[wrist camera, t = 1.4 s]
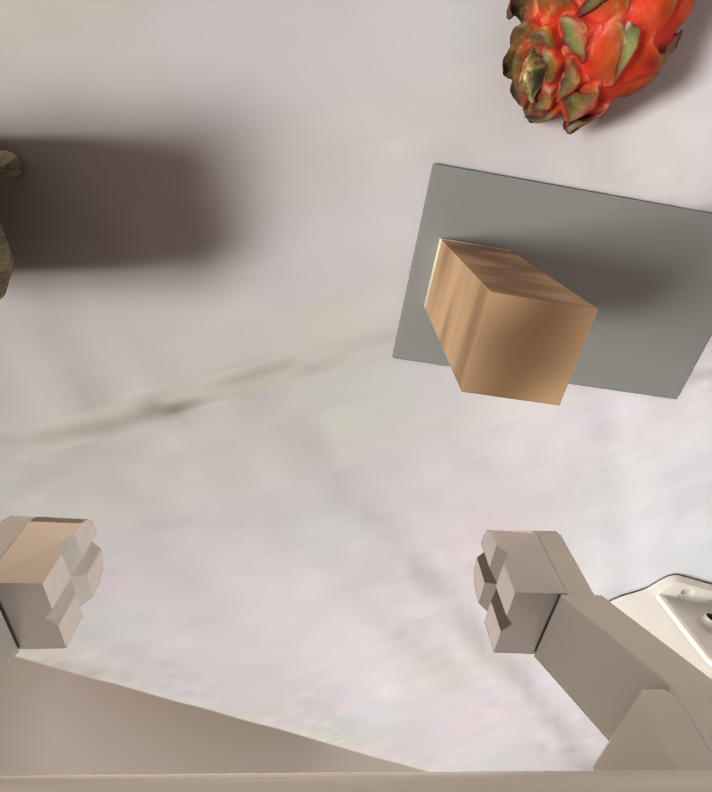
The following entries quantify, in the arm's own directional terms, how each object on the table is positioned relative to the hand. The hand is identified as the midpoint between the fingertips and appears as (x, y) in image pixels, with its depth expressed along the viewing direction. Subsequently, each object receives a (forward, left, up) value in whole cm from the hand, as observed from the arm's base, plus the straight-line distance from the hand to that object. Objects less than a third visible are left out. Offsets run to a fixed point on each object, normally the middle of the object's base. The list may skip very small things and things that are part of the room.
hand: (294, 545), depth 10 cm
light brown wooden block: (-10, 0, -27) cm, 29 cm away
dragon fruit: (-12, -16, -28) cm, 34 cm away
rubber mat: (-18, 0, -28) cm, 33 cm away
